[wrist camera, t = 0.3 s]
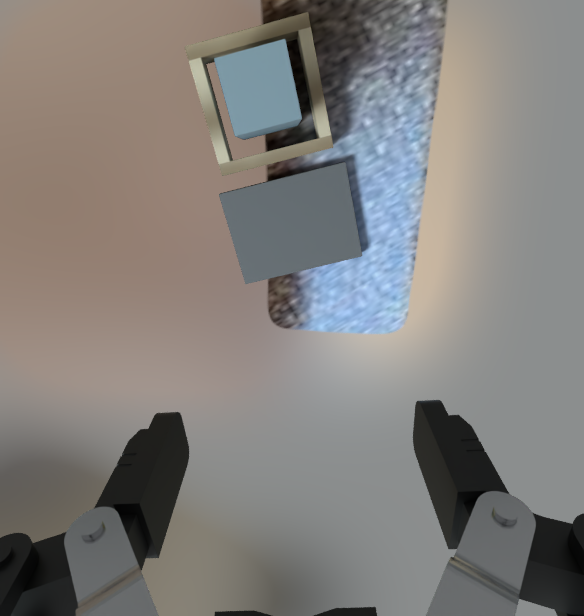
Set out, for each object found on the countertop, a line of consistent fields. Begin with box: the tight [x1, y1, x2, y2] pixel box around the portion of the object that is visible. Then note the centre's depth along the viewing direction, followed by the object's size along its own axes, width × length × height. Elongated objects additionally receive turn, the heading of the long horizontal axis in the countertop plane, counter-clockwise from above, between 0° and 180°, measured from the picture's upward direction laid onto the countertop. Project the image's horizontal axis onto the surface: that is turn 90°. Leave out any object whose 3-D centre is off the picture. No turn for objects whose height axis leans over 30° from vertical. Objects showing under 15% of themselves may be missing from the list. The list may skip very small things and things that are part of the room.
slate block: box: [214, 39, 302, 140], centre depth 32 cm, size 5×5×8 cm
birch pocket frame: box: [185, 12, 333, 176], centre depth 34 cm, size 10×10×2 cm
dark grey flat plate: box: [219, 162, 362, 284], centre depth 39 cm, size 9×12×1 cm
